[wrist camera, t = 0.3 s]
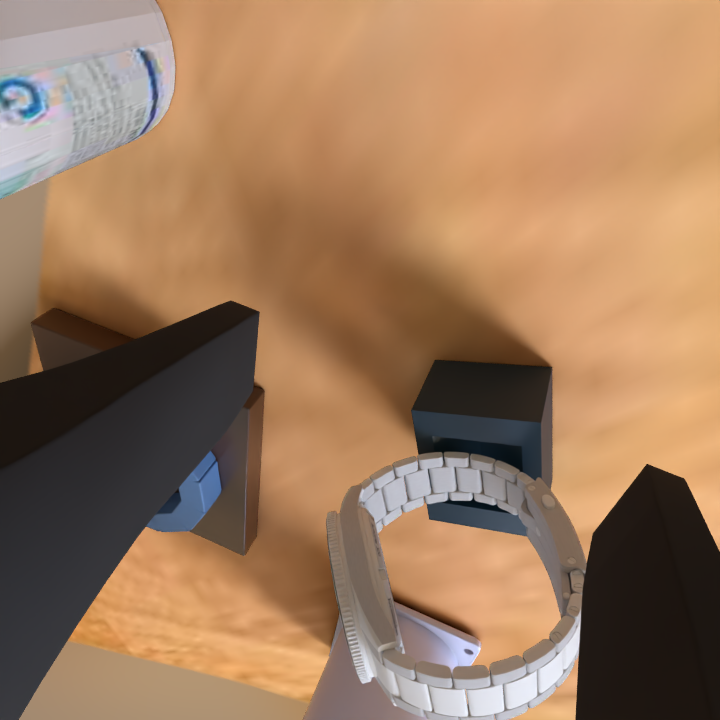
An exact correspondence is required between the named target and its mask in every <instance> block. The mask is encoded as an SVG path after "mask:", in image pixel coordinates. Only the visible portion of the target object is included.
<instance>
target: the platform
mask: <svg viewBox="0 0 720 720" xmlns="http://www.w3.org/2000/svg"><path fill="white" fill-rule="evenodd" d="M31 326H32V330H33V334H34V337H35V341H36V345H37V348H38V352H39V356H40V360H41V363H42V367H43V371H46V370H49V369H52V368H56V367H59V366H62V365H65V364H68V363H71V362H74V361H77V360H80V359H83V358H86V357H88V356H91V355H94V354H97V353H100V352H102V351H105V350H108V349H111V348H114V347H117V346H119V345H122V344H125V343H128V342H130V341H133V340H134V339H132V338H129V337H127V336H124V335H122V334H119V333H116V332H114V331H111V330H109V329H106V328H104V327H101V326H98V325H96V324H93V323H91V322H88V321H86V320H83V319H80V318H78V317H75V316H73V315H70V314H67V313H65V312H62V311H60V310H57V309H55V308H52V309H51V310H49V311H47V312H46V313H44V314H43V315H41V316H40V317H38V318H37V319H35V320H34V321H32V322H31ZM264 393H265V391H264V390H263V389H261V388H258V387H255V386H253V392H252V393H251V395H250V396H249V398H248V399H247V401H246V403H245V404H244V406H243V407H242V409H241V411H240V412H239V414H238V415H237V417H236V418H235V420H234V421H233V423H232V424H231V426H230V427H229V429H228V430H227V432H226V433H225V434H224V435H223V436H222V438H221V439H220V440H219V441H218V442H217V444H216V445H215V446H214V447H213V448H212V449H211V452H212V453H213V455H214V456H215V458H216V461H217V463H218V470H219V476H220V483H221V494H220V495H219V496H218V498H217V499H216V501H215V502H214V503H213V505H212V506H211V507H210V509H209V510H208V511H207V513H206V514H205V515H204V516H203V518H202V519H201V520H200V521H199V522H198V523H197V524H196V526H195V527H194V528H193V529H192V530H190V532H192V533H194V534H196V535H199V536H201V537H203V538H205V539H207V540H210V541H212V542H214V543H216V544H218V545H221V546H223V547H225V548H227V549H229V550H232V551H234V552H236V553H238V554H240V555H243V556H245V555H246V553H247V551H248V550H249V548H250V547H251V545H252V543H253V542H254V540H255V539H256V537H257V521H258V503H259V485H260V466H261V448H262V429H263V411H264ZM174 493H180V492H179V488H178V489H177V490H176V491H175V492H174Z"/></svg>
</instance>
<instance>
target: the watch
mask: <svg viewBox="0 0 720 720" xmlns="http://www.w3.org/2000/svg"><path fill="white" fill-rule="evenodd" d="M411 412H412V418H413V424H414V430H415V436H416V442H417V448H418V454H419V455H418V456H417V458H416V457H415V456H413V457H409V458H405V459H402V460H399V461H397V462H394V463H393V464H392V466H393V467H392V466H390V465H389V466H386V467H384V468H382V469H380V470H379V471H377V472H375V473H374V474H372V475H371V476H370V479H369V478H368V479H366V480H364V481H363V482H362V483H360V484H359V485H356V486H352V487H351V488H350V489H349V490H348V491H347V493H346V495H345V497H344V499H343V502H342V505H341V510H340V513H338V514H337V512H336V511H333V512H328V514H327V519H326V526H327V541H328V550H329V558H330V565H331V571H332V577H333V583H334V588H335V594H336V599H337V604H338V608H339V613H340V617H341V622H342V626H343V630H344V634H345V638H346V642H347V645H348V649H349V652H350V655H351V658H352V659H351V662H352V665H353V666H354V667H355V670H356V673H357V675H358V678H359V679H360V681H361V682H362V683H367V682H371V677H375V678H376V679H377V681H378V683H379V684H380V686H381V688H382V689H383V691H384V692H385V694H386V695H387V697H388V698H389V699H390V701H391V702H392V703H393V705H394V706H398V707H400V708H402V709H403V710H405V711H407V712H410V713H412V714H415V715H417V716H420V717H424V716H425V714H426V718H427V719H429V720H459V719H460V720H495V719H496V720H508V719H511V718H513V717H516V716H518V715H521V714H523V713H525V712H526V711H527V710H528V707H529V708H533V707H535V706H537V705H538V704H540V703H541V702H543V701H544V700H545V699H547V698H548V697H549V696H550V695H551V694H552V693H554V691H555V687H559V686H560V685H561V684H562V683H563V682H564V680H565V679H566V678H567V676H568V675H569V673H570V672H571V670H572V668H573V666H574V660H576V659H577V657H578V655H579V641H580V623H581V605H582V590H583V583H584V577H585V572H586V566H587V563H586V559H585V556H584V553H583V550H582V547H581V544H580V541H579V539H578V536H577V534H576V532H575V529H574V527H573V525H572V523H571V521H570V519H569V517H568V516H567V514H566V512H565V511H564V509H563V507H562V506H561V504H560V503H559V501H558V500H557V498H556V497H555V496H554V494H553V493H552V491H551V484H552V367H542V366H525V365H509V364H493V363H476V362H460V361H444V360H435V361H434V363H433V365H432V367H431V370H430V372H429V374H428V376H427V378H426V380H425V382H424V384H423V386H422V389H421V391H420V393H419V395H418V397H417V399H416V401H415V403H414V405H413V408H412V410H411ZM417 459H418V463H417ZM403 476H404V478H403ZM404 481H405V483H404ZM405 487H406V489H405ZM406 492H407V494H406ZM423 496H424V499H423ZM424 500H425V502H426V503H427V509H428V515H429V519H430V520H436V521H442V522H447V523H453V524H459V525H465V526H470V527H476V528H482V529H488V530H493V531H499V532H505V533H511V534H517V535H522V536H527V537H528V539H529V540H530V542H531V543H532V545H533V546H534V548H535V549H536V551H537V553H538V554H539V556H540V558H541V560H542V562H543V564H544V566H545V568H546V570H547V572H548V575H549V577H550V580H551V583H552V586H553V589H554V592H555V595H556V599H557V603H558V607H559V611H560V613H561V620H560V621H559V623H558V624H557V626H556V627H555V628H554V629H553V630H552V632H551V633H550V636H549V637H550V640H548V639H544V640H542V641H540V642H539V643H538V644H536V645H535V646H533V647H531V648H530V649H528V650H526V651H525V652H524V653H523V658H521V657H520V656H517V655H516V656H512V657H510V658H507V659H504V660H500V661H497V662H493V663H491V664H490V674H489V671H488V669H487V667H486V666H484V665H476V666H457V667H455V668H454V669H453V674H452V672H451V669H450V667H448V666H446V665H440V664H435V663H431V662H427V661H420V662H418V664H417V666H416V661H415V659H414V658H413V657H410V656H408V655H405V649H404V644H403V640H402V635H401V631H400V626H399V622H398V617H397V613H396V609H395V604H394V600H393V596H392V591H391V587H390V582H389V578H388V574H387V570H386V565H385V561H384V557H383V552H382V548H381V544H380V540H379V535H378V533H379V532H380V531H381V530H382V529H383V525H388V524H389V523H390V522H392V521H393V520H395V519H396V518H398V517H399V516H400V515H401V514H402V511H403V512H409V511H411V510H413V509H415V508H418V507H421V506H423V505H424ZM401 510H402V511H401ZM382 524H383V525H382ZM502 684H503V685H502ZM465 689H466V692H467V698H468V704H467V699H466V692H465ZM503 695H504V696H503ZM494 715H495V719H494Z"/></svg>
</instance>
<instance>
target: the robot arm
mask: <svg viewBox="0 0 720 720" xmlns="http://www.w3.org/2000/svg"><path fill="white" fill-rule="evenodd" d="M259 313H260V312H259V311H256V310H254V309H251V308H249V307H246V306H244V305H241V304H239V303H236V302H234V301H228V302H226V303H223V304H220V305H218V306H215V307H213V308H210V309H208V310H206V311H203V312H201V313H199V314H196V315H194V316H191V317H189V318H187V319H184V320H182V321H180V322H177V323H175V324H172V325H170V326H167V327H165V328H163V329H160V330H158V331H155V332H153V333H150V334H148V335H145V336H143V337H140V338H138V339H135V340H133V341H130V342H128V343H125V344H122V345H119V346H117V347H114V348H111V349H108V350H105V351H102V352H100V353H97V354H94V355H91V356H88V357H86V358H83V359H80V360H77V361H74V362H71V363H68V364H65V365H62V366H59V367H56V368H52V369H49V370H46V371H42V372H39V373H35V374H31V375H28V376H24V377H20V378H17V379H13V380H10V381H6V382H2V383H0V720H19V718H20V717H21V715H22V713H23V712H24V710H25V708H26V706H27V705H28V703H29V701H30V700H31V698H32V696H33V695H34V693H35V691H36V690H37V688H38V686H39V685H40V683H41V681H42V680H43V678H44V677H45V675H46V673H47V672H48V670H49V669H50V667H51V666H52V664H53V662H54V661H55V659H56V658H57V656H58V655H59V653H60V651H61V650H62V648H63V647H64V645H65V643H66V642H67V640H68V639H69V637H70V636H71V634H72V632H73V631H74V629H75V628H76V626H77V625H78V623H79V622H80V620H81V619H82V617H83V616H84V614H85V613H86V611H87V610H88V608H89V607H90V605H91V604H92V602H93V601H94V599H95V598H96V596H97V595H98V593H99V592H100V590H101V589H102V587H103V586H104V584H105V583H106V581H107V580H108V578H109V577H110V576H111V574H112V573H113V571H114V570H115V568H116V567H117V566H118V564H119V563H120V561H121V560H122V558H123V557H124V556H125V554H126V553H127V551H128V550H129V548H130V547H131V546H132V544H133V543H134V541H135V540H136V538H137V537H138V536H139V534H140V533H141V532H142V531H143V529H144V528H145V527H146V526H147V524H148V523H149V522H150V521H151V519H152V518H153V517H154V516H155V515H156V513H157V512H158V511H159V510H160V509H161V508H162V506H163V505H164V504H165V503H166V502H167V501H168V499H169V498H170V497H171V496H172V495H173V494H174V492H175V491H176V490H177V489H178V488H179V487H180V486H181V484H182V483H183V482H184V481H185V480H186V479H187V477H188V476H189V475H190V474H191V473H192V472H193V471H194V469H195V468H196V467H197V466H198V465H199V464H200V462H201V461H202V460H203V459H204V458H205V457H206V455H207V454H208V453H209V452H210V451H211V449H212V448H213V447H214V446H215V445H216V444H217V442H218V441H219V440H220V439H221V438H222V436H223V435H224V434H225V433H226V432H227V430H228V429H229V427H230V426H231V424H232V423H233V421H234V420H235V418H236V417H237V415H238V414H239V412H240V411H241V409H242V407H243V406H244V404H245V403H246V401H247V399H248V398H249V396H250V395H251V393H252V392H253V385H254V373H255V361H256V349H257V337H258V325H259ZM394 604H395V609H396V613H397V617H398V622H399V626H400V631H401V635H402V640H403V644H404V649H405V655H408V656H410V657H413V658H414V659H415V661H416V666H417V664H418V662H420V661H427V662H431V663H435V664H440V665H446V666H448V667H450V669H451V672H452V674H453V669H454V668H455V667H457V666H471V665H472V663H473V661H474V660H475V658H476V657H477V655H478V653H479V652H480V648H481V642H480V641H479V640H478V639H477V638H475V637H473V636H471V635H468V634H466V633H464V632H462V631H459V630H457V629H455V628H453V627H450V626H448V625H446V624H444V623H441V622H439V621H437V620H435V619H432V618H430V617H428V616H426V615H423V614H421V613H419V612H417V611H414V610H412V609H410V608H408V607H405V606H403V605H401V604H399V603H396V602H394ZM351 659H352V658H351V655H350V652H349V649H348V645H347V642H346V638H345V634H344V630H343V626H342V622H341V617H340V614H339V618H338V622H337V626H336V630H335V634H334V638H333V642H332V646H331V650H330V654H329V659H328V661H327V664H326V666H325V668H324V671H323V673H322V675H321V678H320V680H319V682H318V685H317V687H316V689H315V692H314V694H313V696H312V699H311V701H310V704H309V706H308V708H307V711H306V713H305V715H304V718H303V720H429V719H427V718H426V714H425V716H424V717H420V716H417V715H415V714H412V713H410V712H407V711H405V710H403V709H402V708H400V707H398V706H394V705H393V703H392V702H391V701H390V699H389V698H388V697H387V695H386V694H385V692H384V691H383V689H382V688H381V686H380V684H379V683H378V681H377V679H376V678H375V677H371V682H367V683H362V682H361V681H360V679H359V678H358V675H357V673H356V670H355V667H354V666H353V665H352V662H351ZM576 720H720V552H719V549H718V547H717V545H716V543H715V541H714V539H713V537H712V535H711V533H710V531H709V529H708V526H707V524H706V522H705V520H704V518H703V516H702V514H701V512H700V510H699V507H698V505H697V503H696V501H695V499H694V497H693V495H692V493H691V491H690V489H689V487H688V485H687V483H686V481H685V479H684V478H681V477H679V476H676V475H674V474H671V473H669V472H666V471H663V470H661V469H658V468H656V467H653V466H651V465H648V464H647V465H646V466H645V467H644V468H643V470H642V471H641V472H640V474H639V475H638V476H637V478H636V479H635V480H634V481H633V483H632V484H631V485H630V487H629V488H628V489H627V490H626V492H625V493H624V494H623V496H622V497H621V498H620V499H619V501H618V502H617V503H616V505H615V506H614V507H613V508H612V510H611V511H610V512H609V514H608V515H607V516H606V517H605V519H604V520H603V521H602V523H601V524H600V525H599V526H598V528H597V529H596V530H595V532H594V533H593V536H592V541H591V546H590V551H589V556H588V561H587V566H586V572H585V577H584V583H583V590H582V605H581V623H580V641H579V662H578V682H577V702H576Z"/></svg>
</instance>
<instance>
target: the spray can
mask: <svg viewBox="0 0 720 720" xmlns="http://www.w3.org/2000/svg"><path fill="white" fill-rule="evenodd" d="M174 84H175V60H174V53H173V47H172V40H171V37H170V34H169V31H168V28H167V25H166V23H165V20H164V17H163V14H162V11H161V10H160V8H159V6H158V4H157V2H156V1H155V0H0V199H2V198H4V197H6V196H9V195H11V194H13V193H16V192H18V191H20V190H22V189H25V188H27V187H29V186H31V185H34V184H36V183H38V182H41V181H43V180H45V179H47V178H50V177H52V176H54V175H56V174H59V173H61V172H63V171H66V170H68V169H70V168H72V167H75V166H77V165H79V164H81V163H84V162H86V161H88V160H91V159H93V158H95V157H97V156H100V155H102V154H104V153H106V152H109V151H111V150H113V149H116V148H118V147H120V146H122V145H125V144H127V143H129V142H131V141H134V140H137V139H138V138H140V137H141V136H143V135H144V134H146V133H147V132H149V131H151V130H152V129H153V127H155V126H156V125H158V123H159V122H160V120H161V119H162V118H163V116H164V115H165V113H166V112H167V111H168V108H169V105H170V102H171V99H172V96H173V92H174Z"/></svg>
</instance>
